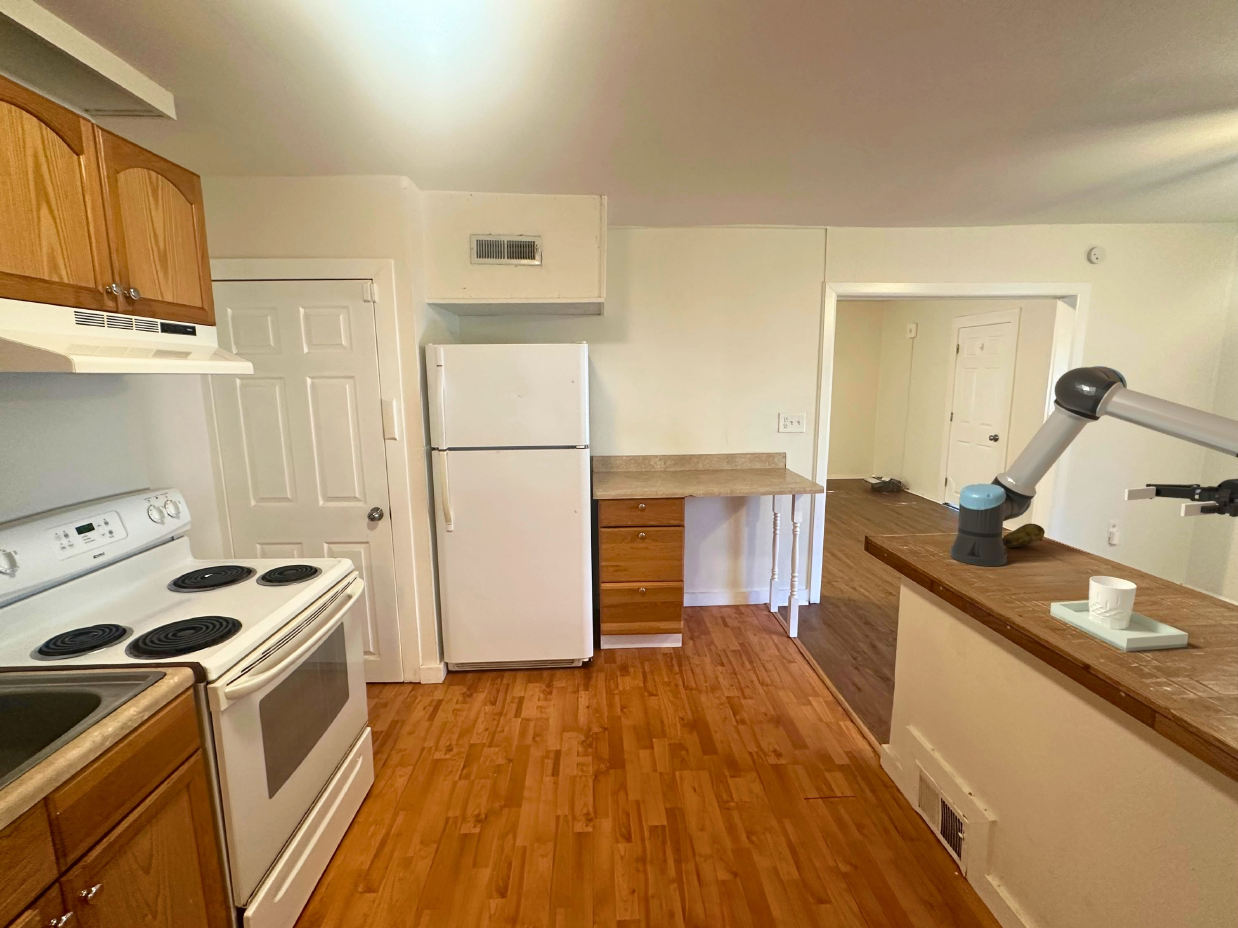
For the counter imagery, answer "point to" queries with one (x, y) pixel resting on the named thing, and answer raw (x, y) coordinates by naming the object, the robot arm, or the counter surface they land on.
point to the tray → (1134, 638)
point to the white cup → (1111, 601)
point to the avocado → (1024, 536)
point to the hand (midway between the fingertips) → (1152, 502)
